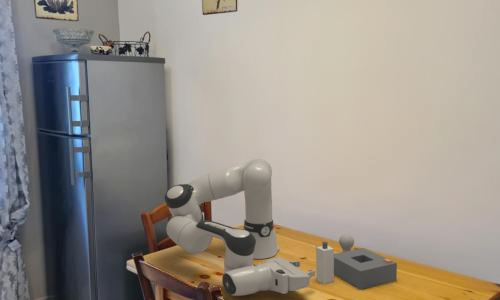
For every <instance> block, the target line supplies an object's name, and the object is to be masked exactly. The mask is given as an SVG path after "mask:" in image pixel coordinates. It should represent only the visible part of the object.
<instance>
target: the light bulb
mask: <svg viewBox="0 0 500 300" xmlns="http://www.w3.org/2000/svg"><path fill="white" fill-rule="evenodd" d="M338 243H339V246H340V248H341V250H342V252H346V251H351V250H352V248H353V246H354V245H355V238H354V237H353V236H352V235H351V234H348V233H344V234H341V236H340V237H339V239H338Z"/></svg>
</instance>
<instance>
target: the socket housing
mask: <svg viewBox="0 0 500 300" xmlns="http://www.w3.org/2000/svg"><path fill="white" fill-rule="evenodd" d="M397 267H398V263H397V261H396V262H395V261H393V260H391V259H389V258H386V257H385V256H382V255H379V254H378V253H376V252H373V251H372V250H370V249H367V248H365V247H362V248H357V249H356V248H355V249H351V251H346V252H343V251H342V252H341V251H340V252H338V253H334V276H336V277H338V278H339V279H341V280H343V281H345V282H346V283H348V284H349V285H351V286H353V287H355V288H356V289H357V290H365V289H369V288H373V287H376V286H380V285H385V284H389V283H392V282H397V278H398V277H397V275H398V274H397V273H398V270H397V269H398V268H397Z"/></svg>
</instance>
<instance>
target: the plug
mask: <svg viewBox="0 0 500 300" xmlns="http://www.w3.org/2000/svg"><path fill="white" fill-rule="evenodd" d="M321 243H322V245H321V246H320V245H319V246H316V248H315V249H316V251H315V252H316V253H315V255H316V256H315V257H316V260H315V261H316V262H315V263H316V265H315V266H316V268H315V279H316V281H318V282H320V283H321V284H323V285H324V284H328V283H333V282H335V281H334V280H335V275H334V254H335V251H334V250H335V249H334V248H333V247H331V246H329V244H328V242H327V241H322V242H321Z"/></svg>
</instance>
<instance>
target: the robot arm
mask: <svg viewBox="0 0 500 300" xmlns="http://www.w3.org/2000/svg"><path fill="white" fill-rule="evenodd" d="M272 170H273V169H272V167H271V165H270V163H269V162H268V161H267V160H266V159H265V160H264V159H261V158H256V159H255V158H254V159H252V160H249V161H245V162H243V163H241V164H237V165H235V166H232V167H229V168H226V169H223V170H218V171H216V172H211V173H208V174H204V175H202V176H200V177H197V178H195V179H193V180H191V181H189V183H184V184H183V183H181V184H175V185H173V186H171V187H169V188H168V190H167V191H165V193H164V201H165V204H166V207H167V208H168V210H169V212H170V214H171V216H172V218H170V219H169V220H168V222H167V224H166V228H165V229H166V233H167V236H168V237H169V238H170V239H171V240H172V242H174V243H175V244H176V245H177V246H179V247H180V248H181V249H183V250H184V251H185V252H188V253H189V254H193V255H194V254H200V253H202V252H203V251H205V250H206V249H208V247H209V246H210V245H211V243H212V240H213V238H215V239H218V240H221V241H223V242H224V246H225V247H224V248H225V252H224V253H225V254H224V266H223V275H222V285H223V288H224V291H225V292H226V293H227V294H228V295H229V296H233V297H240V296H241V297H242V296H247V295H252V294H253V295H254V294H256V293H257V292H260V291H262V292H267V291H273V292H277V293H280V294H285V295H286V294H288V293H289V291H292V292H293V291H297V290H301V289H302V290H303V289H307V288H308V287H309V286H310V283H311V282H310V279H311V278H312V277H316V270H314V269H310V270H308V271H307V272H305V271H303V270H302V269H300V267H301V262H300V261H299V260H295V261H292V260H286V259H284V258H283V257H282V256H281V257H280V256H279V257H278V256H277V257H275V256H276V255H277V253H278V252H279V251H280V247H279V246H278V241H277V233H276V232H277V231H276V230H274V226H275V225H274V224H275V223H274V219H273V197H272V177H273V176H272V174H273V173H272V172H273V171H272ZM241 192H243V193H244V205H245V206H244V207H245V219H244V221H243V228H242V229H241V228H237V227H232V226H230V225H226V224H223V223H220V222H218V221H214V220H208V219H207V220H205V218H204V215H203V212H202V210H201V208H200V206H201V204H203V203H206V202H207V203H208V202H213V201H217V200H220V199H224V198H228V197H231V196H235V195H237V194H239V193H241ZM272 257H273V258H272ZM268 258H269V259H268ZM261 259H266V260H265V261H264V262H261V263H258V264H256V265H254V260H261Z"/></svg>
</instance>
